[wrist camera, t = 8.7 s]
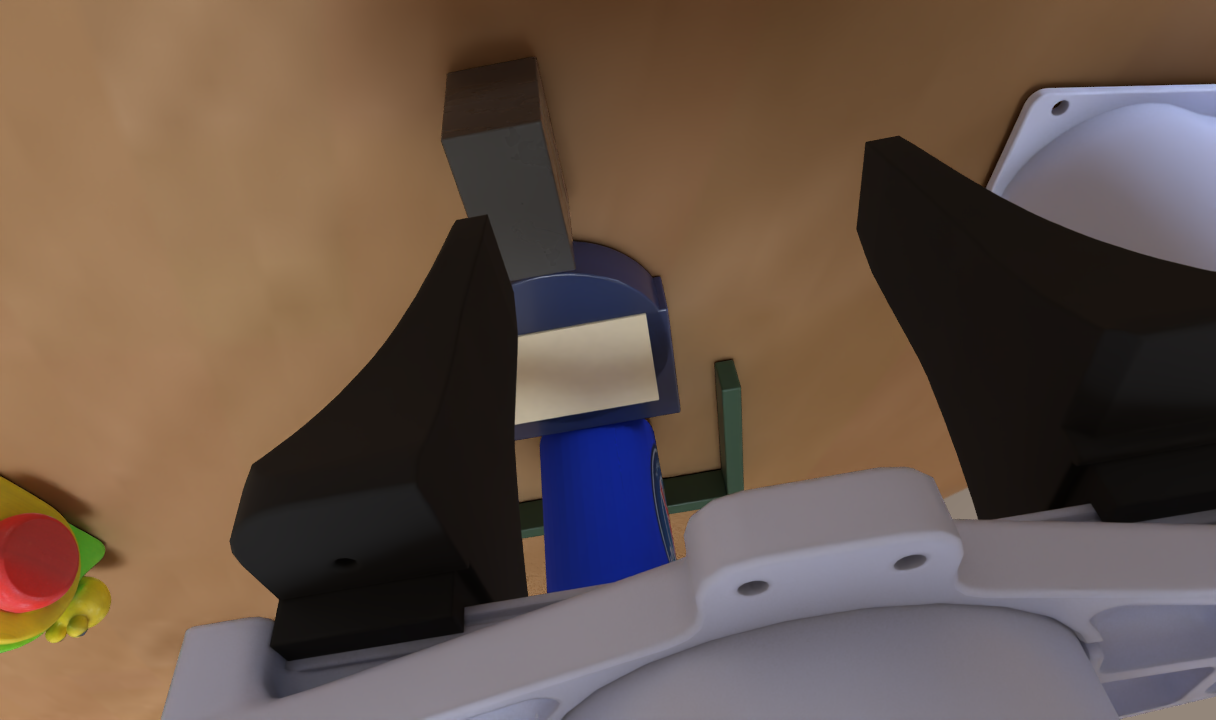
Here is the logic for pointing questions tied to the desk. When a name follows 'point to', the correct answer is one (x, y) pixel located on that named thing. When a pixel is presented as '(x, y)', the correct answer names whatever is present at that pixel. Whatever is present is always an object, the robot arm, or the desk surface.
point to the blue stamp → (555, 265)
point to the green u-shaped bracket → (696, 487)
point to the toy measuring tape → (45, 572)
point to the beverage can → (603, 505)
